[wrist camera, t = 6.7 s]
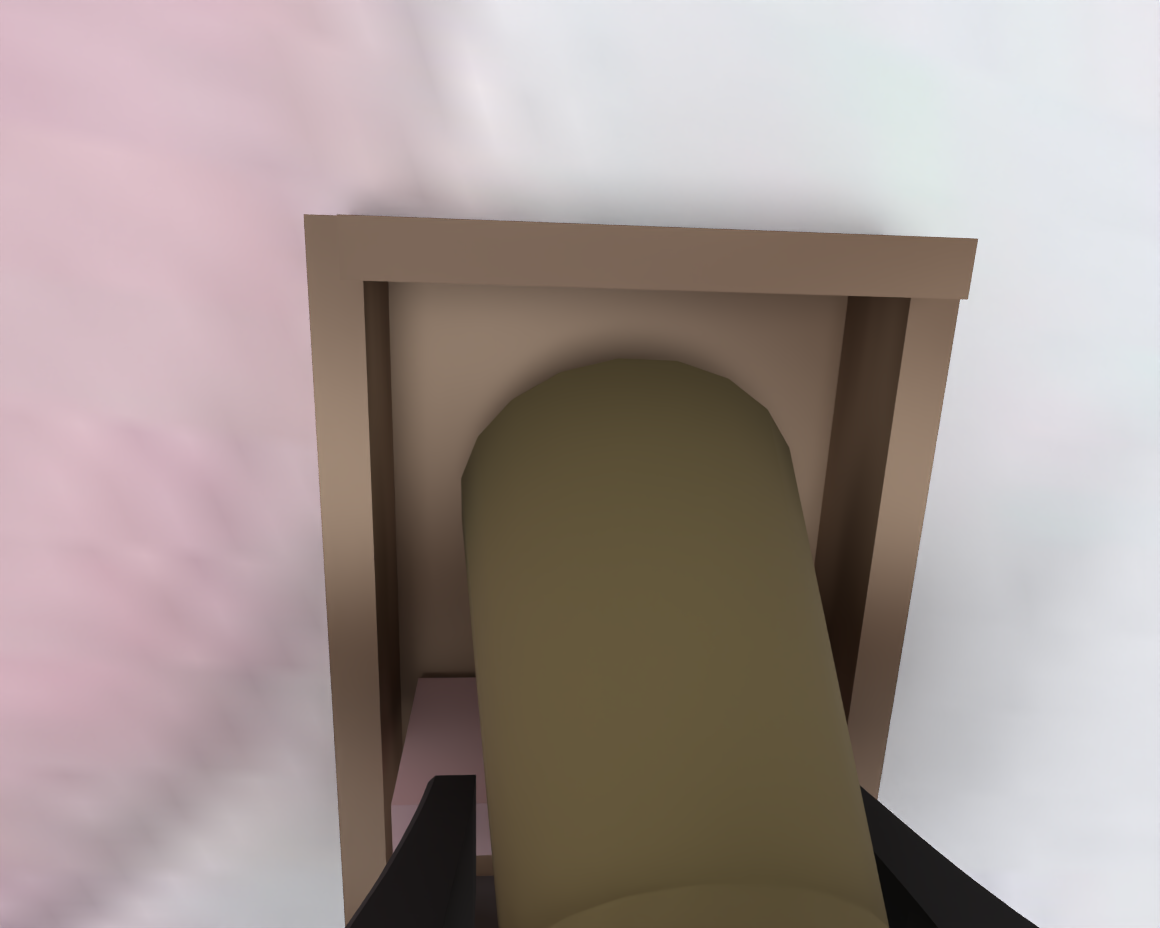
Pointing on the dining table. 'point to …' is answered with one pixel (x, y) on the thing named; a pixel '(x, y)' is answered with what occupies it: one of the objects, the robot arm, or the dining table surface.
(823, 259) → the open box
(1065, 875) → the dining table surface
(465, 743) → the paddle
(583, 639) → the olive bulbous piece
